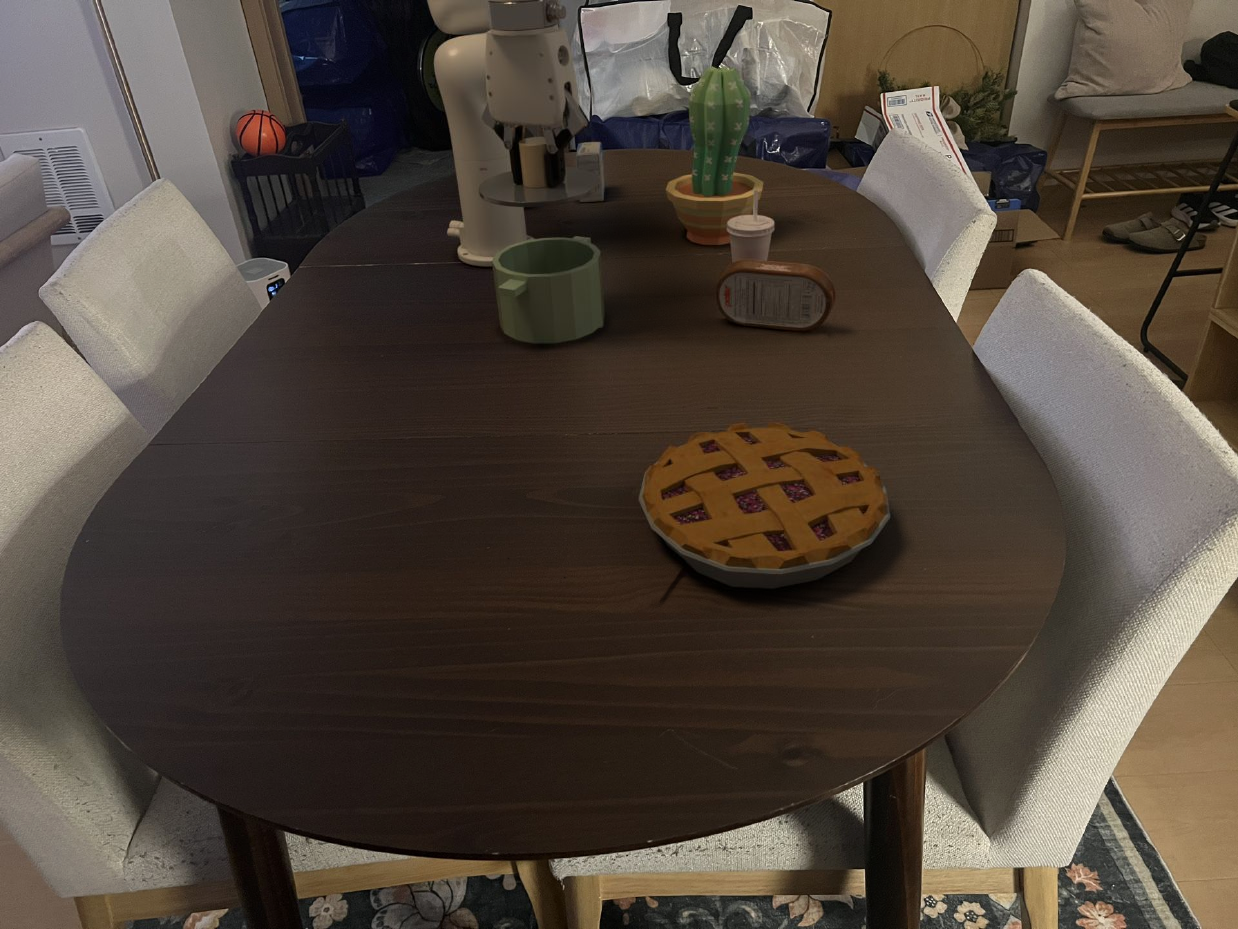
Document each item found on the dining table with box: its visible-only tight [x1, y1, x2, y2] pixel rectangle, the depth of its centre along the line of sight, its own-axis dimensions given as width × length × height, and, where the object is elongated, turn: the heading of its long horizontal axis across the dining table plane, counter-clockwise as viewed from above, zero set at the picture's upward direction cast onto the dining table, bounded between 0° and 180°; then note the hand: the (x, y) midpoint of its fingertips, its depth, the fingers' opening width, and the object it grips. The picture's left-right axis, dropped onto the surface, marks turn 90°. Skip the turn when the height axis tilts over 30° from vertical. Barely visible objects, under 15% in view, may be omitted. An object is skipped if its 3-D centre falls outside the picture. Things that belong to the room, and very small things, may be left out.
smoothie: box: [727, 189, 775, 263], centre depth 125 cm, size 6×6×14 cm
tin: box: [714, 259, 836, 332], centre depth 116 cm, size 15×3×8 cm, turn 71°
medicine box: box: [575, 141, 605, 203], centre depth 166 cm, size 8×4×9 cm, turn 179°
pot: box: [492, 235, 605, 344], centre depth 120 cm, size 14×19×10 cm
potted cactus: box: [665, 65, 764, 246], centre depth 141 cm, size 15×15×25 cm
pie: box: [638, 421, 891, 589], centre depth 83 cm, size 22×22×5 cm
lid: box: [479, 136, 600, 208], centre depth 111 cm, size 15×15×6 cm
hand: (539, 181), depth 112 cm, fingers closed on lid, 4 cm apart
